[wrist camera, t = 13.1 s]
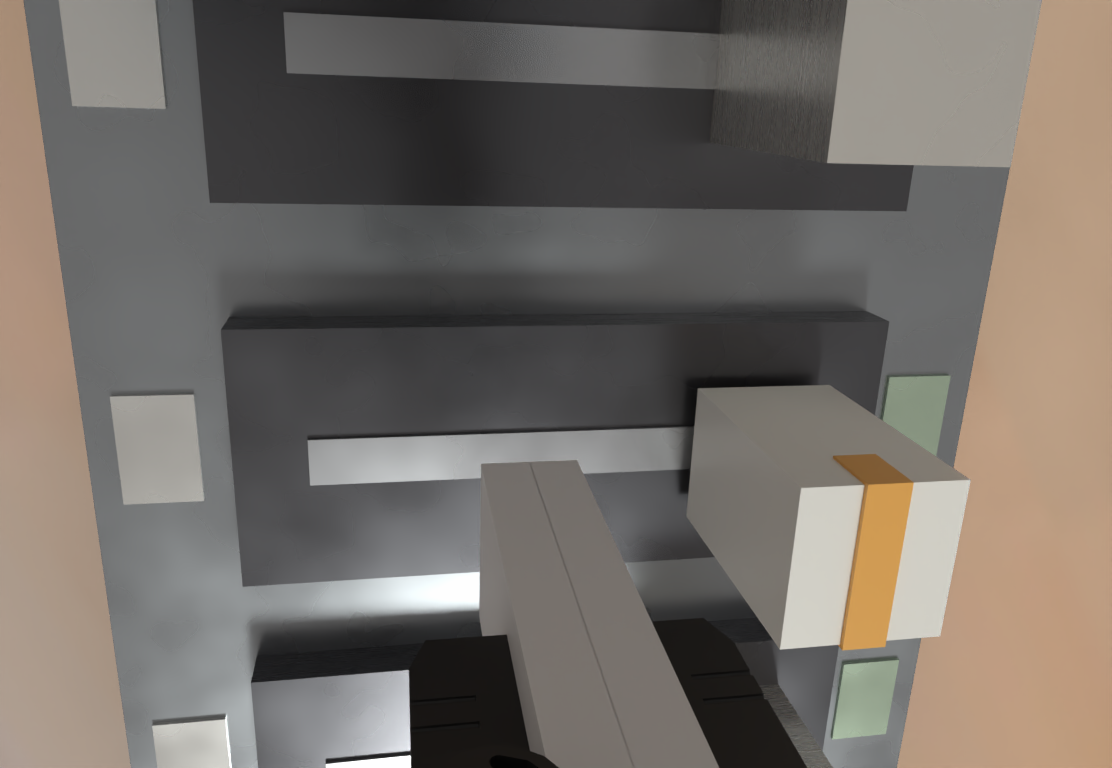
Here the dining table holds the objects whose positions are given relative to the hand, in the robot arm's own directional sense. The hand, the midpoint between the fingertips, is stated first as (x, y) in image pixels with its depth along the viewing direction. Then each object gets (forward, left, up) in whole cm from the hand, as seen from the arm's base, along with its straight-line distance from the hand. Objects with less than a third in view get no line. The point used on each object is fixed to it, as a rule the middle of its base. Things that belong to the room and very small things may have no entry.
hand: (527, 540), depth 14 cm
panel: (+1, +2, -8) cm, 8 cm away
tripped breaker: (+1, +6, -5) cm, 7 cm away
